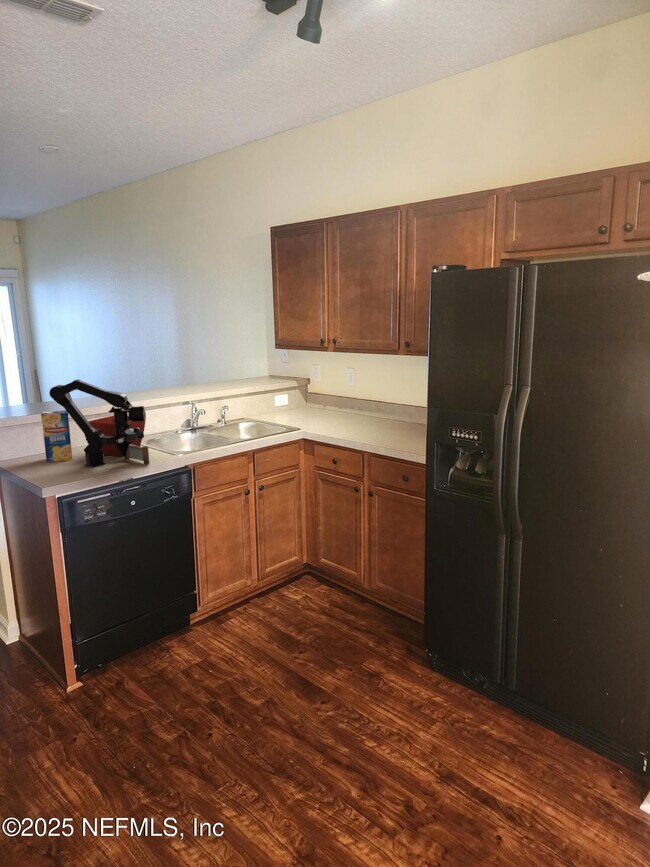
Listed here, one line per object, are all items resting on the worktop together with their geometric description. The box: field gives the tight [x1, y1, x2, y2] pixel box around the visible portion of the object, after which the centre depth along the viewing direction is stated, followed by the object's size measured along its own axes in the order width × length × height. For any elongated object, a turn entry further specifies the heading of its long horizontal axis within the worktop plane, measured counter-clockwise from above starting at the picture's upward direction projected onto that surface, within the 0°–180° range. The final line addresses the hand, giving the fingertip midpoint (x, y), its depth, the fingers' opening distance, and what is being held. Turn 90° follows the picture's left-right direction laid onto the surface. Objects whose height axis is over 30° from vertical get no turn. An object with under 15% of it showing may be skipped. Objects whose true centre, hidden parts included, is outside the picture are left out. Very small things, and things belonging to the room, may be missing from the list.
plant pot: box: [87, 415, 147, 457], centre depth 273 cm, size 19×19×17 cm
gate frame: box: [123, 445, 150, 466], centre depth 258 cm, size 2×17×8 cm, turn 52°
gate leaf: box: [127, 444, 144, 462], centre depth 258 cm, size 2×12×6 cm, turn 53°
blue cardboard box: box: [40, 410, 73, 463], centre depth 261 cm, size 7×11×22 cm, turn 117°
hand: (124, 456), depth 254 cm, fingers closed
